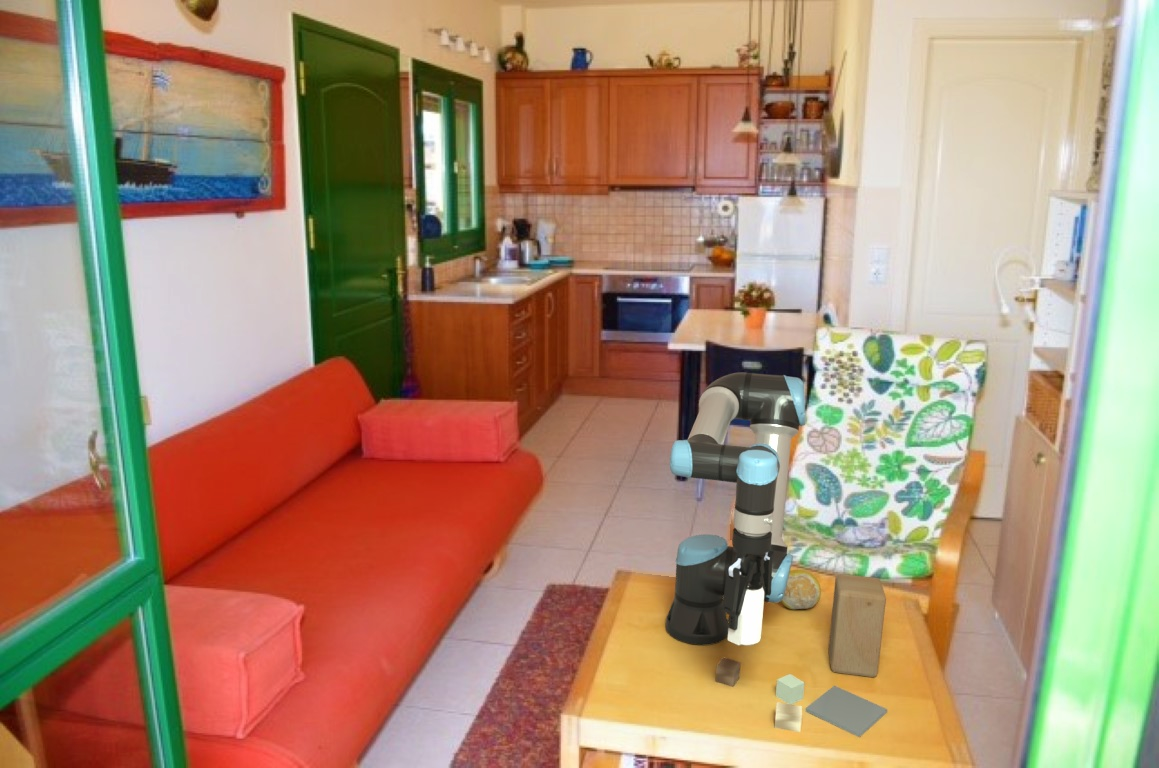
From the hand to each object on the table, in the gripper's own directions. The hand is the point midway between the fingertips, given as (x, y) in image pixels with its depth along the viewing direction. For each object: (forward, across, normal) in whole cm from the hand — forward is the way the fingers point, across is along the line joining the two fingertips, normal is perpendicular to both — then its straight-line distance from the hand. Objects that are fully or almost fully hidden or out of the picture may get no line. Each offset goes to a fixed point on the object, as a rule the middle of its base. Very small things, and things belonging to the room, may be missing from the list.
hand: (744, 635), depth 178 cm
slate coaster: (+17, +16, -16) cm, 28 cm away
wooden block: (+17, +34, -8) cm, 39 cm away
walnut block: (+17, +8, +8) cm, 20 cm away
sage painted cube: (+17, +12, -5) cm, 21 cm away
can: (+1, 0, 0) cm, 1 cm away
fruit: (+17, +49, +16) cm, 54 cm away
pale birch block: (+17, +3, -10) cm, 20 cm away
